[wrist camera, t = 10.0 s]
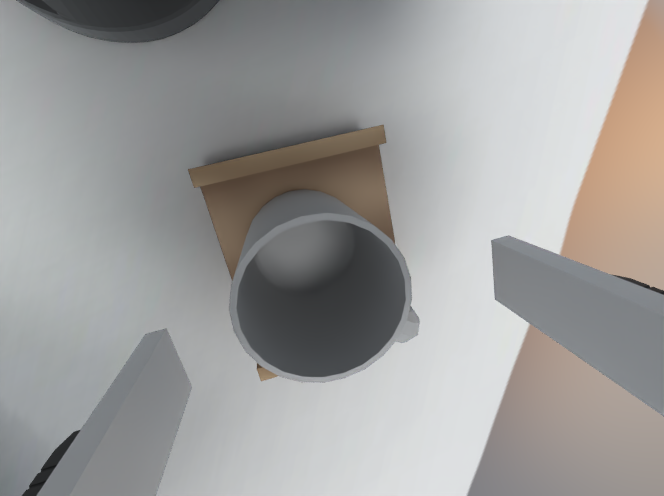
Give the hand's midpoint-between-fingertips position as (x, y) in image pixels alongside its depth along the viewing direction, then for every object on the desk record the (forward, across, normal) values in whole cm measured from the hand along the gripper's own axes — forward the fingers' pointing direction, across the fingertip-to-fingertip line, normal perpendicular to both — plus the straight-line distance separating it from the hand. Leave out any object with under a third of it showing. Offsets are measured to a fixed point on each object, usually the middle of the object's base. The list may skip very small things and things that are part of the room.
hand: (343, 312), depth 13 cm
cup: (+9, 0, -1) cm, 9 cm away
